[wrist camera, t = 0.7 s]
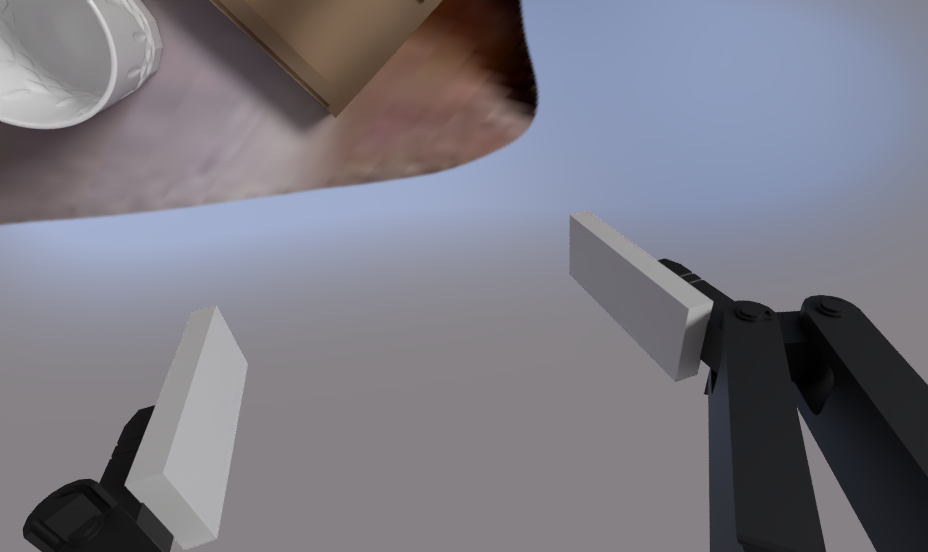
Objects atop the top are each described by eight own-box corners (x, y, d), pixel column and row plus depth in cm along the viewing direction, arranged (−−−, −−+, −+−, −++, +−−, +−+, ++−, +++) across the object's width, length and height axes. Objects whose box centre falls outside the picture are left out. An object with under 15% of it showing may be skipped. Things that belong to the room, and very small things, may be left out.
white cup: (159, 118, 31) (101, 155, 23) (13, 63, 28) (-119, 83, 19) (186, 1, 29) (131, -6, 20) (27, -76, 25) (-117, -123, 17)
